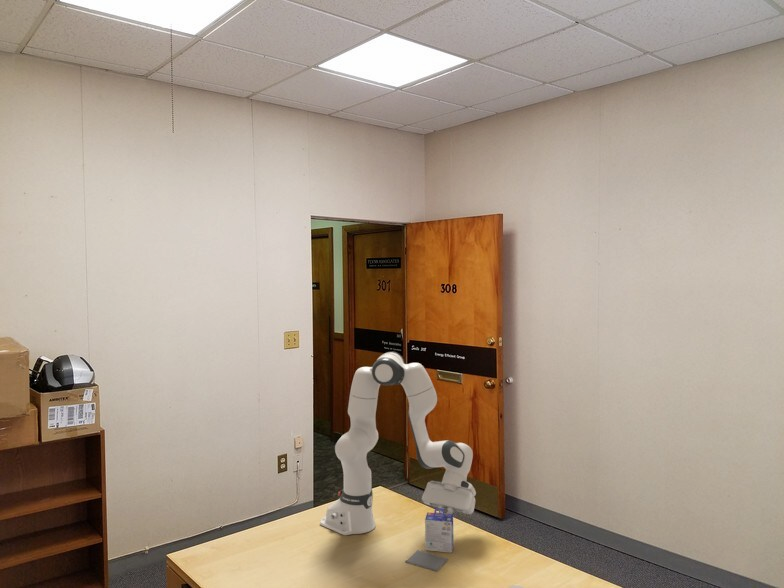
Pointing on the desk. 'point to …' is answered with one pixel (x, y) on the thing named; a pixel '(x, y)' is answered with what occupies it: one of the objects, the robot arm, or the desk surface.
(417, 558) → the mat
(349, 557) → the desk surface
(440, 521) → the ink cartridge box
